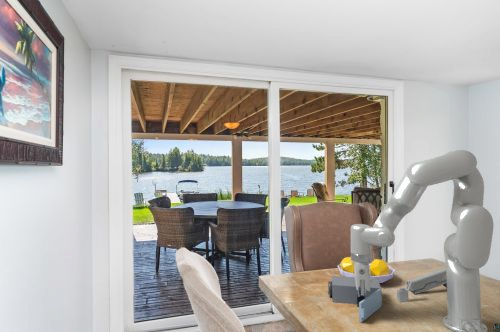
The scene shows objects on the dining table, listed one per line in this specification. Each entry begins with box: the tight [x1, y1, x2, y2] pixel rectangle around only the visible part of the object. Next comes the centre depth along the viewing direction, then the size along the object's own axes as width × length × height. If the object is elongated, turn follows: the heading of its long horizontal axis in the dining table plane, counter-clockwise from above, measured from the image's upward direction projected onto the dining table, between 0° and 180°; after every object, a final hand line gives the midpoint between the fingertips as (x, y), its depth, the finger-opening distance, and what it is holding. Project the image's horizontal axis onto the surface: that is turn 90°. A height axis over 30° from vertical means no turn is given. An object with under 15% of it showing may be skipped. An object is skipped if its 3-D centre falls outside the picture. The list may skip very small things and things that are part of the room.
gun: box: [406, 267, 447, 295], centre depth 139 cm, size 2×25×10 cm, turn 99°
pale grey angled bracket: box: [396, 279, 414, 303], centre depth 130 cm, size 7×2×8 cm, turn 100°
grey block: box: [327, 275, 382, 305], centre depth 133 cm, size 12×21×8 cm, turn 75°
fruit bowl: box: [337, 256, 396, 284], centre depth 156 cm, size 28×27×11 cm
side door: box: [358, 288, 383, 323], centre depth 118 cm, size 2×19×7 cm, turn 136°
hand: (361, 306), depth 118 cm, fingers closed
